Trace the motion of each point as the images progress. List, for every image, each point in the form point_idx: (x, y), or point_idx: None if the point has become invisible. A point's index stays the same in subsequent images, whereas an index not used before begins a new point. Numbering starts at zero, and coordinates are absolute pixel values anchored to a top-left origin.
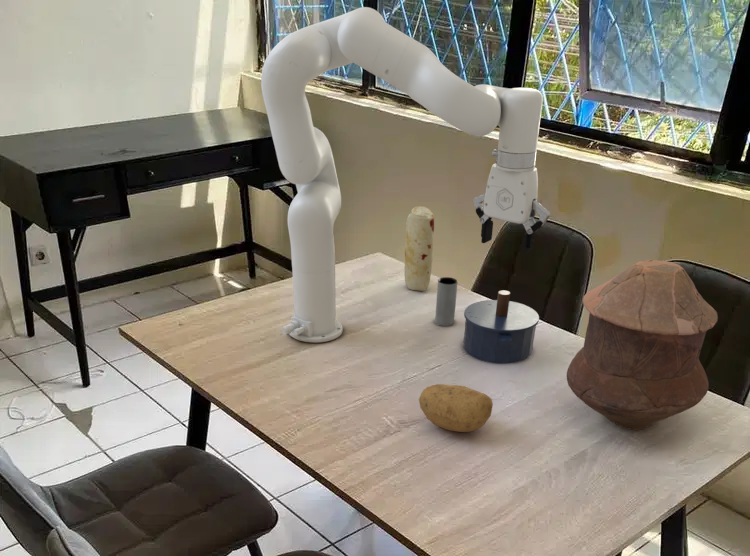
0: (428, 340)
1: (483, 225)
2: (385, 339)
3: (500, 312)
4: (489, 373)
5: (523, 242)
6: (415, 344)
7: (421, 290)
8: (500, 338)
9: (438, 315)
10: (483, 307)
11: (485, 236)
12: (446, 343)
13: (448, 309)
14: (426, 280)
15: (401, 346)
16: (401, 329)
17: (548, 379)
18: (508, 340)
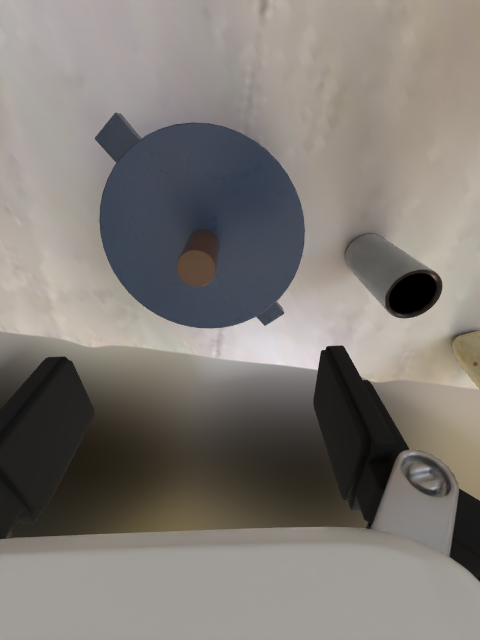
0: (359, 141)
1: (385, 433)
2: (471, 50)
3: (196, 233)
4: (140, 79)
5: (23, 399)
6: (380, 90)
7: (460, 335)
8: (125, 123)
9: (382, 239)
10: (266, 251)
11: (332, 378)
12: (314, 160)
13: (367, 253)
14: (466, 351)
15: (412, 43)
16: (446, 148)
17: (38, 163)
18: (101, 130)
